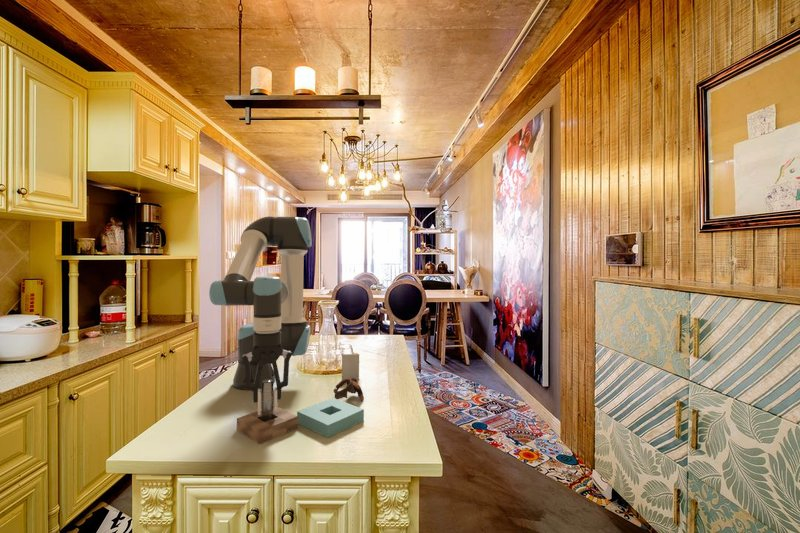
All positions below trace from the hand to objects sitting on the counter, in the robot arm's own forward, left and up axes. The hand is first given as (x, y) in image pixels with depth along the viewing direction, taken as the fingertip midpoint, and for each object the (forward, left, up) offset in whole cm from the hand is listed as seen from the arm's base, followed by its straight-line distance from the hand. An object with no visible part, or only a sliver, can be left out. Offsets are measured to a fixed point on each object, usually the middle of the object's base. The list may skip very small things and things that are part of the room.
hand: (267, 411), depth 110 cm
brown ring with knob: (+1, +31, -6) cm, 32 cm away
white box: (-14, +46, -5) cm, 48 cm away
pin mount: (0, 0, -5) cm, 5 cm away
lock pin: (0, 0, -5) cm, 5 cm away
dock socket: (+10, +15, -5) cm, 19 cm away
